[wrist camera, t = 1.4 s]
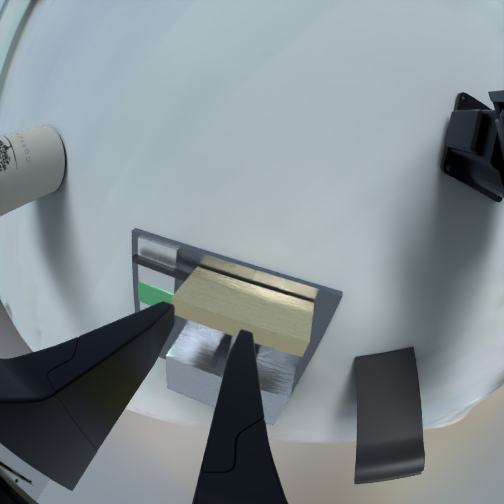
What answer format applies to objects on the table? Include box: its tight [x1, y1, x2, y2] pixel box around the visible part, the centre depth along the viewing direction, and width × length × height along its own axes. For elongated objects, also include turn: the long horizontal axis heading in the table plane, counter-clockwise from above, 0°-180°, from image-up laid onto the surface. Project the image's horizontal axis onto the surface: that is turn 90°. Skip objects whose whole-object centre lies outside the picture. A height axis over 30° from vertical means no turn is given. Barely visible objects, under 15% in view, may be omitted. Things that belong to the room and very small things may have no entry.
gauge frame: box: [132, 228, 342, 425], centre depth 25 cm, size 19×16×5 cm
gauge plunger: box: [132, 254, 314, 361], centre depth 22 cm, size 16×8×5 cm, turn 78°
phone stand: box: [354, 347, 425, 484], centre depth 20 cm, size 9×6×12 cm, turn 17°
